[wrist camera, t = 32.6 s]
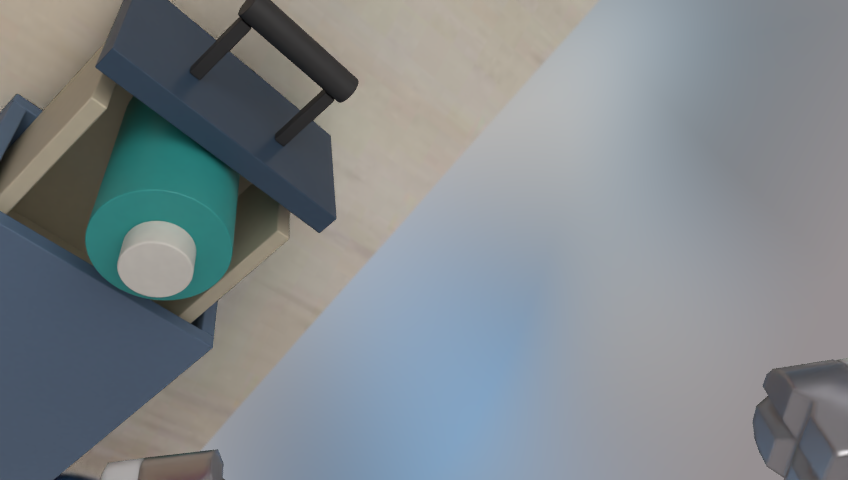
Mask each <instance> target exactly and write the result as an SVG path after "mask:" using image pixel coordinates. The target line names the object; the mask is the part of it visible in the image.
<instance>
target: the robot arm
mask: <svg viewBox="0 0 848 480" xmlns="http://www.w3.org/2000/svg"><path fill="white" fill-rule="evenodd" d="M763 387H764V389H765V391H766V392H767V394H768V396H767V397H766V398H765V399H764V400H763V401H762V402H760V403H759V404H758V405H757V406H756V410H755V414H754V418H753V428H754V438H755V441H756V444H757V447H758V450H759V452H760V454H761V456H762V458H763V460H764V462H765V464H766V465H767V467H768V468H770V469H771V470H773V471H774V472H776V473H778V474H779V475H781V476H782V477H784V480H848V358H846V359H840V360H827V361H821V362H814V363H808V364H801V365H795V366H789V367H783V368H776V369H772V370H771V371H770V372H769V373H768V374H767V375H766V378H765V381H764V384H763ZM101 480H224V479H223V461H222V459H221V456H220V453H219V451H218V450H209V451H200V452H191V453H183V454H174V455H165V456H157V457H148V458H140V459H133V460H125V461H118V462H110V463H108V464H107V466H106V467H105V469H104V471H103V473H102V475H101Z"/></svg>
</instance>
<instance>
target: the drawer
mask: <svg viewBox="0 0 848 480" xmlns="http://www.w3.org/2000/svg"><path fill="white" fill-rule="evenodd" d="M238 15H239V16H240V17H239V18H238V19H237V20H236V21H235V22H234V23H233V24H232V25H231V26H230V27H229V28H228V29H227V30H226V31H225V32H224V33H223V34H222V35H221V36H220V37H219V38H218V39H217V40H215V39H214V38H213V37H212V36H210V35H209V34H208V33H207V32H206V31H204V30H203V29H202V28H201V27H200V26H198V25H197V24H196V23H195V22H194V21H192V20H191V19H190V18H189V17H188V16H186V15H185V14H184V13H183V12H182V11H180V10H179V9H178V8H177V7H176V6H174V5H173V4H172V3H171V2H170V1H168V0H123V3H122V5H121V7H120V10H119V12H118V14H117V17H116V19H115V21H114V24H113V26H112V28H111V31H110V33H109V35H108V38H107V40H106V42H105V43H104V44H103V46H102V47H101V48H100V49H99V50H98V51H97V52H96V53H95V54H94V55H93V56H92V58H91V59H90V60H89V61H88V62H87V63H86V64H85V65H84V66H83V67H82V69H81V70H80V71H79V72H78V73H77V74H76V75H75V76H74V77H73V78H72V80H71V81H70V82H69V83H68V84H67V85H66V86H65V87H64V88H63V89H62V91H61V92H60V93H59V94H58V95H57V96H56V97H55V98H54V99H53V100H52V102H51V103H50V104H49V105H48V106H47V107H46V108H45V109H44V110H43V111H42V113H41V114H40V115H39V116H38V117H37V118H36V119H35V120H34V121H33V122H32V123H31V125H30V126H29V127H28V128H27V129H26V130H25V131H24V132H23V133H22V134H21V136H20V137H19V138H18V139H17V140H16V141H15V142H14V143H13V144H12V145H11V147H10V148H9V149H8V150H7V151H6V152H5V153H4V155H3V157H2V159H1V161H0V211H1V212H3V213H5V214H6V215H8V216H10V217H11V218H13V219H15V220H16V221H18V222H20V223H22V224H23V225H25V226H27V227H28V228H30V229H32V230H33V231H35V232H37V233H38V234H40V235H42V236H44V237H45V238H47V239H49V240H50V241H52V242H54V243H55V244H57V245H59V246H60V247H62V248H64V249H65V250H67V251H69V252H71V253H72V254H74V255H76V256H77V257H79V258H81V259H82V260H84V261H86V262H87V263H89V264H91V265H93V264H92V262H91V261H90V258H89V256H88V254H87V250H86V245H85V234H86V229H87V226H88V222H89V219H90V216H91V213H92V210H93V207H94V204H95V201H96V198H97V195H98V192H99V189H100V186H101V183H102V180H103V177H104V174H105V171H106V168H107V165H108V162H109V159H110V156H111V153H112V150H113V147H114V144H115V141H116V138H117V135H118V132H119V129H120V126H121V123H122V120H123V117H124V114H125V111H126V108H127V106H128V104H129V102H130V100H131V99H132V97H133V96H134V97H136V98H137V99H138V100H140V101H141V102H143V103H144V104H145V105H147V106H148V107H149V108H151V109H152V110H153V111H155V112H156V113H157V114H159V115H160V116H161V117H163V118H164V119H166V120H167V121H168V122H170V123H171V124H172V125H174V126H175V127H176V128H178V129H179V130H180V131H182V132H183V133H184V134H186V135H187V136H189V137H190V138H191V139H193V140H194V141H195V142H197V143H198V144H199V145H201V146H202V147H203V148H205V149H206V150H207V151H209V152H210V153H212V154H213V155H214V156H216V157H217V158H218V159H220V160H221V161H222V162H224V163H225V164H226V165H228V166H229V167H230V168H232V169H233V170H235V171H236V172H237V173H239V174H240V179H239V189H238V200H237V211H236V221H235V232H234V242H233V253H232V259H231V263H230V265H229V268H228V270H227V271H226V273H225V274H224V276H223V277H222V278H221V279H220V280H219V281H218V282H217V283H216V284H215V285H214V286H212V287H211V288H209V289H208V290H206V291H204V292H202V293H200V294H198V295H195V296H192V297H189V298H184V299H179V300H152V299H150V300H152V301H153V302H155V303H157V304H158V305H160V306H162V307H163V308H165V309H167V310H169V311H170V312H172V313H174V314H175V315H177V316H179V317H180V318H182V319H184V320H185V321H187V322H189V323H192V322H193V321H194V320H195V319H196V318H198V317H199V316H200V315H201V314H202V313H203V312H205V311H206V310H207V309H208V308H209V307H210V306H212V305H213V304H214V303H215V302H216V301H217V300H219V299H220V298H221V297H222V296H223V295H224V294H226V293H227V292H228V291H229V290H230V289H231V288H233V287H234V286H235V285H236V284H237V283H238V282H240V281H241V280H242V279H243V278H244V277H245V276H247V275H248V274H249V273H250V272H251V271H252V270H254V269H255V268H256V267H257V266H258V265H260V264H261V263H262V262H263V261H264V260H265V259H267V258H268V257H269V256H270V255H271V254H272V253H274V252H275V251H276V250H277V249H278V248H279V247H281V246H282V245H283V244H284V243H285V242H286V241H288V240H289V217H290V212H291V213H293V214H294V215H295V216H297V217H298V218H300V219H301V220H302V221H304V222H305V223H306V224H308V225H309V226H310V227H312V228H313V229H314V230H316V231H317V232H318V233H320V232H321V231H323V230H324V229H325V228H326V227H327V226H329V225H330V224H331V223H332V222H333V221H334V220H336V206H335V192H334V177H333V163H332V149H331V136H330V135H329V134H328V133H327V132H326V131H324V130H323V129H322V128H321V127H320V126H318V125H317V124H316V123H315V122H314V121H313V120H314V119H315V118H316V117H317V116H318V115H319V114H320V113H321V112H323V111H324V110H325V109H326V108H327V107H328V106H329V105H330V104H331V103H332V102H333V101H334V99H335V100H336V101H337V102H344V101H345V100H347V99H348V98H349V97H350V96H351V95H352V94H353V93H354V91H355V90H356V88H357V86H358V79H357V78H356V77H355V76H354V75H352V74H351V73H350V72H349V71H348V70H347V69H346V68H345V67H344V66H342V65H341V64H340V63H339V62H338V61H337V60H336V59H335V58H334V57H333V56H331V55H330V54H329V53H328V52H327V51H326V50H325V49H324V48H323V47H321V46H320V45H319V44H318V43H317V42H316V41H315V40H314V39H313V38H312V37H310V36H309V35H308V34H307V33H306V32H305V31H304V30H303V29H302V28H300V27H299V26H298V25H297V24H296V23H295V22H294V21H293V20H292V19H291V18H289V17H288V16H287V15H286V14H285V13H284V12H283V11H282V10H281V9H279V8H278V7H277V6H276V5H275V4H274V3H273V2H272V1H271V0H246V1H245V2H244V4H243V5H242V7H241V8H240V10H239V13H238ZM251 27H252V28H253V29H255V30H256V31H257V32H258V33H259V34H260V35H261V36H263V37H264V38H265V39H266V40H267V41H268V42H270V43H271V44H272V45H273V46H274V47H275V48H276V49H278V50H279V51H280V52H281V53H282V54H283V55H284V56H286V57H287V58H288V59H289V60H290V61H291V62H293V63H294V64H295V65H296V66H297V67H298V68H299V69H301V70H302V71H303V72H304V73H305V74H306V75H308V76H309V77H310V78H311V79H312V80H313V81H314V82H316V83H317V84H318V85H319V86H320V87H321V88H322V89H323V90H322V91H321V92H320V93H319V94H318V95H317V96H316V97H314V98H313V99H312V100H311V101H310V102H309V103H308V104H307V105H306V106H305V107H304V108H303V109H302V110H299V109H298V108H297V107H296V106H294V105H293V104H292V103H291V102H290V101H288V100H287V99H286V98H285V97H284V96H282V95H281V94H280V93H279V92H278V91H276V90H275V89H274V88H273V87H272V86H270V85H269V84H268V83H267V82H266V81H264V80H263V79H262V78H261V77H260V76H258V75H257V74H256V73H255V72H254V71H252V70H251V69H250V68H249V67H248V66H246V65H245V64H244V63H243V62H242V61H240V60H239V59H238V58H237V57H236V56H234V55H233V54H232V53H231V52H230V50H231V49H232V48H233V47H234V46H235V45H236V44H237V43H238V42H239V41H240V40H241V39H242V38H243V37H244V36H245V35H246V34H247V33H248V32H249V31H250V30H251Z"/></svg>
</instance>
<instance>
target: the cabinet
mask: <svg viewBox="0 0 848 480" xmlns="http://www.w3.org/2000/svg"><path fill="white" fill-rule="evenodd" d="M41 113H42V110H41V109H39V108H38V107H36V106H35V105H33V104H32V103H30V102H29V101H28V100H26V99H25V98H23V97H22V96H20V95H19V94H16V95H15V96H14V98H13V99H12V100H11V101H10V102H9V103H8V104H7V105H6V107H5V108H4V109H3V110H2V111H1V112H0V161H1V159H2V157H3V155H4V153H5V152H6V151H7V150H8V149H9V148H10V147H11V145H12V144H13V143H14V142H15V141H16V140H17V139H18V138H19V137H20V136H21V134H22V133H23V132H24V131H25V130H26V129H27V128H28V127H29V126H30V125H31V123H32V122H33V121H34V120H35V119H36V118H37V117H38V116H39V115H40V114H41ZM217 302H218V300H217V301H216V302H215V303H214V304H213V305H212V306H210V307H209V308H208V309H207V310H206V311H205V312H203V313H202V314H201V315H200V316H199V317H198V318H196V319H195V320H194V321H193V322H192V323H189V322H187V321H185V320H184V319H182V318H180V317H179V316H177V315H175V314H174V313H172V312H170V311H169V310H167V309H165V308H163V307H162V306H160V305H158V304H157V303H155V302H153V301H152V300H150V299H146V298H142V297H138V296H135V295H132V294H129V293H127V292H125V291H123V290H121V289H119V288H117V287H115V286H114V285H112V284H111V283H110V282H108V281H107V280H106V279H105V278H104V277H103V276H102V275H100V273H99V272H98V271H97V270H96V269H95V267H94V266H93V265H91V264H89V263H87V262H86V261H84V260H82V259H81V258H79V257H77V256H76V255H74V254H72V253H71V252H69V251H67V250H65V249H64V248H62V247H60V246H59V245H57V244H55V243H54V242H52V241H50V240H49V239H47V238H45V237H44V236H42V235H40V234H38V233H37V232H35V231H33V230H32V229H30V228H28V227H27V226H25V225H23V224H22V223H20V222H18V221H16V220H15V219H13V218H11V217H10V216H8V215H6V214H5V213H3V212H1V211H0V480H54V479H55V478H56V477H57V476H58V475H60V474H61V473H62V472H63V471H64V470H66V469H67V468H68V467H69V466H70V465H72V464H73V463H74V462H75V461H77V460H78V459H79V458H80V457H81V456H83V455H84V454H85V453H86V452H87V451H89V450H90V449H91V448H92V447H93V446H95V445H96V444H97V443H98V442H99V441H101V440H102V439H103V438H104V437H105V436H107V435H108V434H109V433H110V432H112V431H113V430H114V429H115V428H116V427H118V426H119V425H120V424H121V423H122V422H124V421H125V420H126V419H127V418H128V417H130V416H131V415H132V414H133V413H134V412H136V411H137V410H138V409H139V408H141V407H142V406H143V405H144V404H145V403H147V402H148V401H149V400H150V399H151V398H153V397H154V396H155V395H156V394H157V393H159V392H160V391H161V390H162V389H163V388H165V387H166V386H167V385H168V384H169V383H171V382H172V381H173V380H174V379H176V378H177V377H178V376H179V375H180V374H182V373H183V372H184V371H185V370H186V369H188V368H189V367H190V366H191V365H192V364H194V363H195V362H196V361H197V360H198V359H200V358H201V357H202V356H203V355H204V354H206V353H207V352H208V351H209V350H211V349H212V348H213V340H214V330H215V321H216V311H217Z"/></svg>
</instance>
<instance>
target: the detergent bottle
mask: <svg viewBox="0 0 848 480" xmlns="http://www.w3.org/2000/svg"><path fill="white" fill-rule="evenodd" d="M239 179H240V174H239V173H237V172H236V171H235V170H233V169H232V168H230V167H229V166H228V165H226V164H225V163H224V162H222V161H221V160H220V159H218V158H217V157H216V156H214V155H213V154H212V153H210V152H209V151H207V150H206V149H205V148H203V147H202V146H201V145H199V144H198V143H197V142H195V141H194V140H193V139H191V138H190V137H189V136H187V135H186V134H184V133H183V132H182V131H180V130H179V129H178V128H176V127H175V126H174V125H172V124H171V123H170V122H168V121H167V120H166V119H164V118H163V117H161V116H160V115H159V114H157V113H156V112H155V111H153V110H152V109H151V108H149V107H148V106H147V105H145V104H144V103H143V102H141V101H140V100H138V99H137V98H136V97H134V96H133V97H132V99H131V100H130V102H129V104H128V106H127V108H126V111H125V114H124V117H123V120H122V123H121V126H120V129H119V132H118V135H117V138H116V141H115V144H114V147H113V150H112V153H111V156H110V159H109V162H108V165H107V168H106V171H105V174H104V177H103V180H102V183H101V186H100V189H99V192H98V195H97V198H96V201H95V204H94V207H93V210H92V213H91V216H90V219H89V222H88V226H87V229H86V234H85V245H86V250H87V254H88V256H89V258H90V261H91V262H92V264H93V266H94V267H95V269H96V270H97V271H98V272H99V273H100V275H102V276H103V277H104V278H105V279H106V280H107V281H108V282H110V283H111V284H112V285H114V286H115V287H117V288H119V289H121V290H123V291H125V292H127V293H129V294H132V295H135V296H138V297H142V298H146V299H152V300H179V299H184V298H189V297H192V296H195V295H198V294H200V293H202V292H204V291H206V290H208V289H209V288H211V287H212V286H214V285H215V284H216V283H217V282H218V281H219V280H220V279H221V278H222V277H223V276H224V274H225V273H226V271H227V270H228V268H229V265H230V263H231V259H232V253H233V242H234V232H235V221H236V211H237V200H238V189H239Z"/></svg>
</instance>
